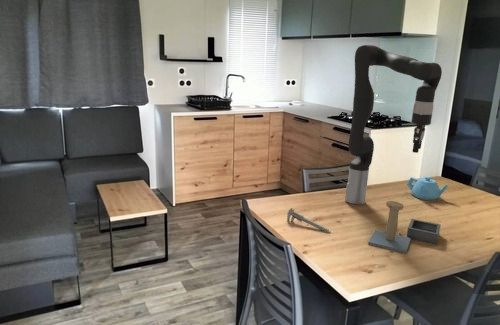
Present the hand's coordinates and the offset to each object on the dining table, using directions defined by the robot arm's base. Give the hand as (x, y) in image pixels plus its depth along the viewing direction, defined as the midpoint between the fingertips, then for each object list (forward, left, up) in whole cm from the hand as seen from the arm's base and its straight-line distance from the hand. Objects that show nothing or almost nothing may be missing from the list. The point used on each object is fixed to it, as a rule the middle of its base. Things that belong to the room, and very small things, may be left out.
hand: (416, 150), depth 172 cm
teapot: (+4, +42, -33) cm, 54 cm away
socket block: (+8, -13, -33) cm, 36 cm away
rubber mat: (-3, -26, -33) cm, 42 cm away
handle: (-3, -26, -32) cm, 41 cm away
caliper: (-35, -29, -33) cm, 56 cm away
